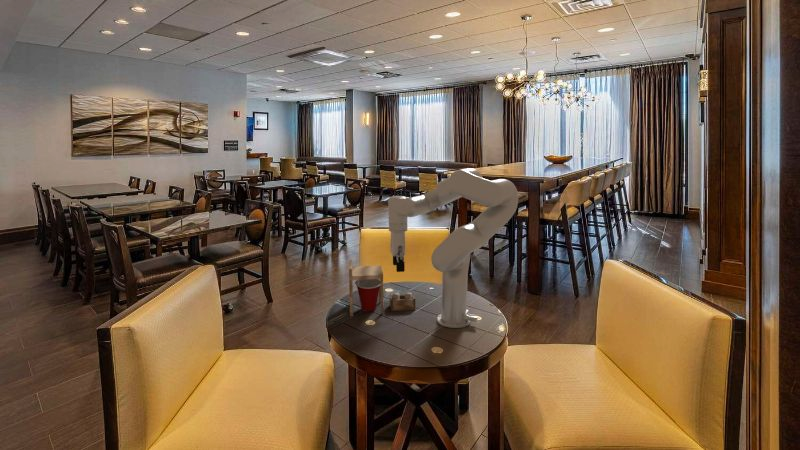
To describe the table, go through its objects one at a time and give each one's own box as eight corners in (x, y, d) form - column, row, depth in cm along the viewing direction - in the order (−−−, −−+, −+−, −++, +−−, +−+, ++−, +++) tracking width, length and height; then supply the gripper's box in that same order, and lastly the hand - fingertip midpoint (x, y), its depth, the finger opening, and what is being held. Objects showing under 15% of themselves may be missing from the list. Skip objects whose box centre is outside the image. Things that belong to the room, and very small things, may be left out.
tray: (413, 304, 181) (413, 290, 180) (415, 309, 175) (415, 295, 174) (389, 305, 180) (389, 291, 178) (391, 310, 174) (391, 296, 173)
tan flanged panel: (381, 302, 183) (380, 258, 179) (383, 314, 170) (383, 267, 166) (350, 304, 181) (348, 259, 177) (350, 316, 168) (348, 268, 165)
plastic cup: (356, 315, 169) (356, 286, 167) (354, 305, 180) (354, 277, 178) (383, 313, 171) (383, 284, 169) (380, 303, 182) (380, 276, 179)
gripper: (386, 223, 179) (386, 263, 182) (391, 231, 162) (392, 274, 165) (403, 222, 180) (404, 262, 183) (411, 230, 163) (411, 273, 166)
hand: (398, 268), depth 174 cm, fingers open, 9 cm apart
